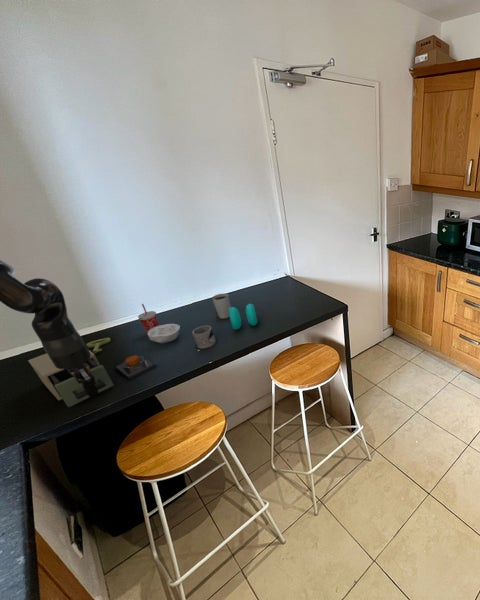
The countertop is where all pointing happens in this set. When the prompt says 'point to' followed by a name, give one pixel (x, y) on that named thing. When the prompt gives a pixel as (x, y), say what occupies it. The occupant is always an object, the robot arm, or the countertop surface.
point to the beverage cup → (148, 319)
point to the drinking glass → (222, 305)
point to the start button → (132, 360)
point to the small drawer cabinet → (50, 370)
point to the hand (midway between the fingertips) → (93, 394)
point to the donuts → (237, 320)
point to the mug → (204, 336)
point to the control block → (135, 367)
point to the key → (98, 344)
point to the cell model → (164, 333)
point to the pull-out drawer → (73, 390)
